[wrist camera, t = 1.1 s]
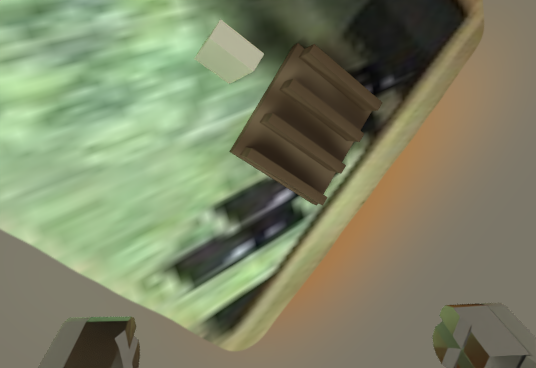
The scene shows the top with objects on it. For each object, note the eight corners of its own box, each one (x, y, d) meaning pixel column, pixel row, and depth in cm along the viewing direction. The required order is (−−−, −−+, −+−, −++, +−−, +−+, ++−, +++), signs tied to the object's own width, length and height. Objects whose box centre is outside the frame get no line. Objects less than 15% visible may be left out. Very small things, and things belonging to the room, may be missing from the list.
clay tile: (229, 84, 42) (253, 71, 33) (193, 58, 40) (209, 37, 31) (237, 70, 42) (264, 53, 33) (202, 44, 40) (220, 19, 31)
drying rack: (311, 203, 49) (327, 210, 44) (229, 151, 43) (238, 154, 39) (367, 107, 49) (388, 105, 45) (293, 45, 44) (308, 37, 40)
